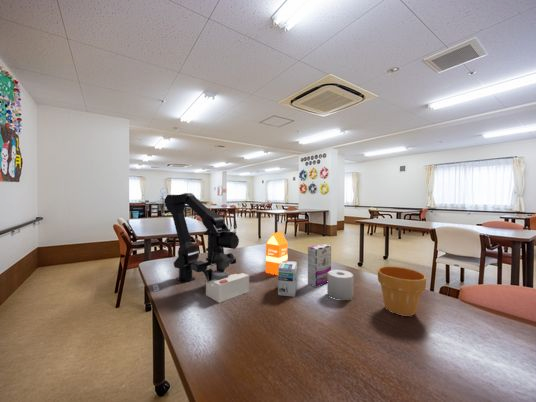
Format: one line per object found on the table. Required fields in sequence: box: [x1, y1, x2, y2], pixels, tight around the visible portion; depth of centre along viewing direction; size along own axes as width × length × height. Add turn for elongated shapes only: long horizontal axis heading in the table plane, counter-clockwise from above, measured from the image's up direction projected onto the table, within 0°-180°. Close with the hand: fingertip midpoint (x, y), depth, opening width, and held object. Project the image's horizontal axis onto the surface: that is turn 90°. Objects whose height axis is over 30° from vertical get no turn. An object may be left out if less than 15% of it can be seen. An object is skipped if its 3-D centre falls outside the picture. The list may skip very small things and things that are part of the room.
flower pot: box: [377, 266, 427, 315], centre depth 79 cm, size 14×14×13 cm
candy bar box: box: [307, 243, 332, 288], centre depth 104 cm, size 11×5×16 cm, turn 131°
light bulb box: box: [277, 260, 298, 298], centre depth 95 cm, size 11×7×11 cm, turn 168°
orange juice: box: [265, 231, 289, 276], centre depth 118 cm, size 8×9×20 cm
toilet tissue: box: [326, 269, 354, 301], centre depth 93 cm, size 9×13×9 cm
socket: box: [205, 272, 250, 304], centre depth 91 cm, size 9×14×7 cm, turn 135°
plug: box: [211, 269, 229, 281], centre depth 96 cm, size 10×4×6 cm, turn 45°
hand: (214, 283), depth 98 cm, fingers closed on plug, 4 cm apart
